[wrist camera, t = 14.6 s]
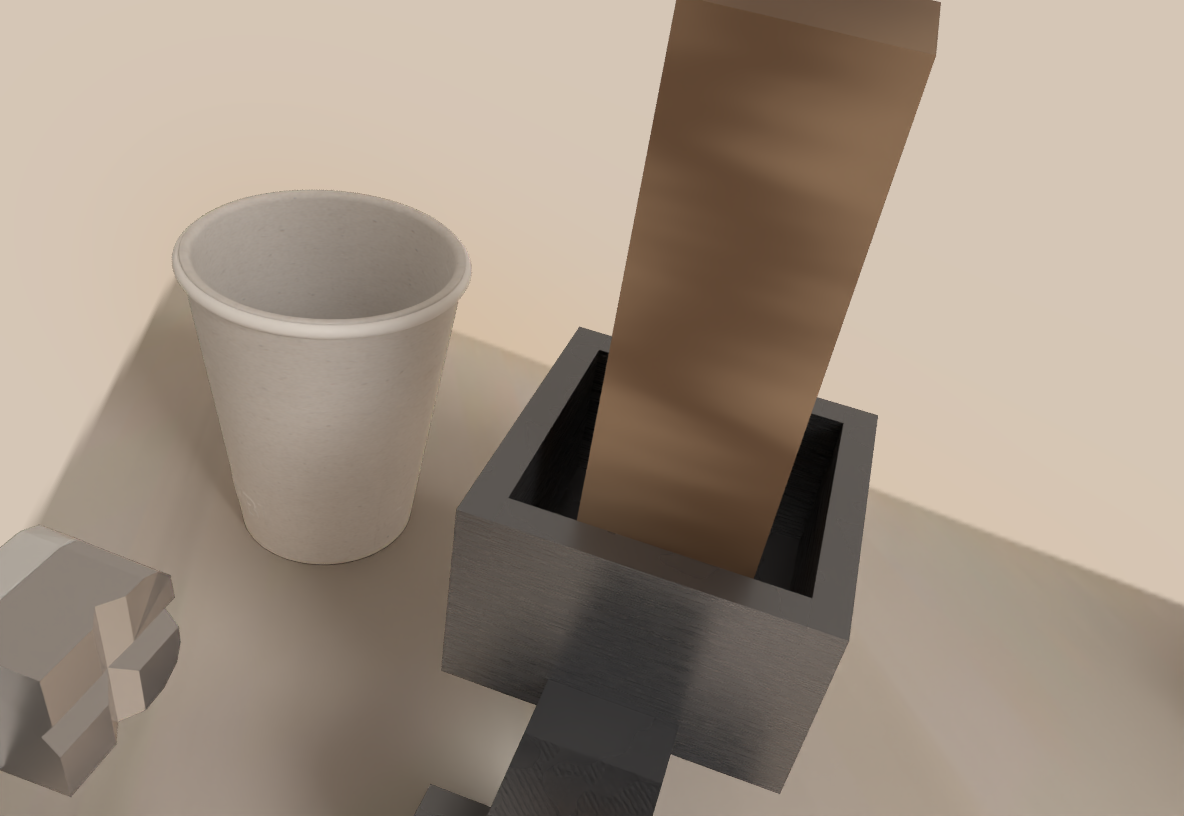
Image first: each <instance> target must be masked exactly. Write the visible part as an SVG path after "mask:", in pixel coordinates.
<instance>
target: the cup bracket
mask: <svg viewBox="0 0 1184 816" xmlns="http://www.w3.org/2000/svg"><path fill="white" fill-rule="evenodd" d="M611 339H612V336H609V335H605V334H602V333H599V332H595V331H592V330H589V329H585V328H582V327H579V328H578V330H577V331H576V333H575V334H574V336H573V337H572V339H571V340H570V342H569V343H568V345H567V346H566V348H565V349H564V350H563V352H562V354H561V355H560V356H559V358H558V359H557V361H556V362H555V364H554V365H553V367H552V368H551V370H550V371H549V373H548V374H547V376H546V377H545V379H544V380H543V382H542V383H541V385H540V386H539V388H538V389H537V391H536V392H535V394H534V395H533V397H532V398H531V399H530V401H529V402H528V404H527V405H526V407H525V408H524V410H523V411H522V413H521V414H520V416H519V417H518V419H517V420H516V422H515V423H514V425H513V426H512V428H511V429H510V431H509V432H508V434H507V435H506V437H505V438H504V440H503V441H502V443H501V444H500V446H499V447H498V449H497V450H496V451H495V453H494V454H493V456H492V457H491V459H490V460H489V462H488V463H487V465H486V466H485V468H484V469H483V471H482V472H481V474H480V475H479V477H478V478H477V480H476V481H475V483H474V484H473V486H472V487H471V489H470V490H469V492H468V493H467V495H466V496H465V498H464V499H463V500H462V502H461V503H460V505H459V506H458V508H457V509H456V520H455V530H454V541H453V552H452V562H451V573H450V584H449V594H448V605H447V615H446V626H445V637H444V647H443V658H442V668H441V671H444V672H447V673H450V674H452V675H455V676H458V677H461V678H463V679H466V680H469V681H471V682H474V683H477V684H480V685H482V686H485V687H488V688H491V689H493V690H496V691H499V692H502V693H504V694H507V695H510V696H513V697H515V698H518V699H521V700H524V701H526V702H529V703H532V704H535V705H537V706H536V708H535V710H534V712H533V715H532V717H531V719H530V721H529V723H528V726H527V728H526V730H525V732H524V735H523V737H522V739H521V741H520V743H519V746H518V748H517V750H516V752H515V755H514V757H513V759H512V761H511V763H510V766H509V768H508V770H507V772H506V775H505V777H504V779H503V781H502V784H501V786H500V788H499V790H498V792H497V795H496V797H495V799H494V801H493V804H492V806H491V807H489V806H486V805H484V804H481V803H479V802H476V801H473V800H471V799H468V798H466V797H463V796H460V795H458V794H455V793H453V792H450V791H448V790H445V789H442V788H440V787H437V786H435V785H432V784H430V786H429V788H428V790H427V792H426V794H425V796H424V798H423V800H422V802H421V803H420V805H419V807H418V809H417V811H416V813H415V815H414V816H653V813H654V809H655V806H656V802H657V799H658V796H659V792H660V789H661V785H662V782H663V778H664V775H665V772H666V768H667V765H668V761H669V758H670V755H671V754H672V755H674V756H677V757H680V758H683V759H685V760H688V761H691V762H694V763H696V764H699V765H702V766H705V767H707V768H710V769H713V770H715V771H718V772H721V773H724V774H726V775H729V776H732V777H735V778H737V779H740V780H743V781H746V782H748V783H751V784H754V785H757V786H759V787H762V788H765V789H768V790H770V791H773V792H776V793H779V794H780V793H781V790H782V788H783V786H784V784H785V781H786V779H787V777H788V775H789V773H790V770H791V768H792V766H793V764H794V762H795V759H796V757H797V755H798V753H799V751H800V748H801V746H802V744H803V742H804V739H805V737H806V735H807V733H808V731H809V728H810V726H811V724H812V722H813V720H814V717H815V715H816V713H817V711H818V708H819V706H820V704H821V702H822V700H823V697H824V695H825V693H826V691H827V689H828V686H829V684H830V682H831V680H832V677H833V675H834V673H835V671H836V669H837V666H838V664H839V662H840V660H841V658H842V655H843V653H844V651H845V649H846V646H847V644H848V642H849V637H850V629H851V621H852V613H853V606H854V598H855V590H856V582H857V574H858V567H859V559H860V551H861V543H862V536H863V528H864V520H865V512H866V504H867V497H868V489H869V480H870V473H871V465H872V458H873V450H874V442H875V434H876V426H877V419H878V415H875V414H871V413H868V412H865V411H861V410H858V409H855V408H851V407H848V406H844V405H841V404H838V403H834V402H831V401H828V400H824V399H821V398H816V401H815V404H814V407H813V410H812V413H811V416H810V418H809V421H808V424H807V427H806V430H805V433H804V436H803V439H802V441H801V444H800V447H799V450H798V453H797V456H796V459H795V462H794V464H793V467H792V470H791V473H790V476H789V479H788V482H787V484H786V487H785V490H784V493H783V496H782V499H781V502H780V505H779V507H778V510H777V513H776V516H775V519H774V522H773V525H772V528H771V530H770V533H769V536H768V539H767V542H766V545H765V548H764V550H763V553H762V556H761V559H760V562H759V565H758V568H757V571H756V573H755V576H754V579H752V578H749V577H746V576H743V575H740V574H737V573H734V572H731V571H728V570H725V569H722V568H719V567H716V566H713V565H710V564H707V563H704V562H701V561H698V560H695V559H692V558H689V557H686V556H683V555H679V554H676V553H673V552H670V551H667V550H664V549H661V548H658V547H655V546H652V545H649V544H646V543H643V542H640V541H637V540H634V539H631V538H628V537H625V536H622V535H619V534H616V533H613V532H610V531H607V530H604V529H601V528H598V527H595V526H592V525H589V524H586V523H583V522H580V521H577V517H578V512H579V507H580V501H581V496H582V491H583V486H584V481H585V475H586V470H587V465H588V460H589V454H590V449H591V444H592V439H593V433H594V428H595V423H596V418H597V413H598V407H599V402H600V397H601V392H602V386H603V381H604V376H605V371H606V365H607V360H608V355H609V350H610V344H611Z"/></svg>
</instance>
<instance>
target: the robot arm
mask: <svg viewBox="0 0 1184 816" xmlns="http://www.w3.org/2000/svg"><path fill="white" fill-rule="evenodd" d="M174 598H175V596H174V591H173V586H172V580H171V575H169V574H166V573H164V572H161V571H158V570H156V569H153V568H151V567H148V566H146V565H143V564H140V563H138V562H135V561H133V560H130V559H127V558H125V557H122V556H120V555H117V554H115V553H112V552H109V551H107V550H104V549H102V548H99V547H97V546H94V545H91V544H89V543H86V542H84V541H82V540H80V539H77V538H74V537H71V536H69V535H66V534H63V533H61V532H58V531H55V530H52V529H50V528H47V527H44V526H42V525H37V526H34V527H31V528H28V529H25V530H22V531H20V532H19V533H17V534H16V535H15V536H14V537H12V538H11V539H10V540H9V541H8V542H6V543H5V544H4V545H3V546H1V547H0V770H1V771H4V772H6V773H9V774H12V775H14V776H17V777H20V778H22V779H25V780H27V781H30V782H33V783H35V784H38V785H41V786H43V787H46V788H49V789H51V790H54V791H56V792H59V793H62V794H64V795H67V796H70V797H71V796H72V795H73V794H74V793H75V791H76V790H77V789H78V788H79V787H80V786H81V784H82V783H83V782H84V781H85V780H86V779H87V778H88V776H89V775H90V774H91V773H92V772H93V771H94V770H95V768H96V767H97V766H98V765H99V764H100V763H101V761H102V760H103V759H104V758H105V757H106V756H107V755H108V753H109V752H110V751H111V750H112V749H113V748H114V746H115V745H116V743H117V729H118V722H119V721H122V720H124V719H126V718H129V717H131V716H133V715H136V714H138V713H140V712H143V711H145V710H146V709H147V708H148V707H149V706H150V704H151V703H152V702H153V701H154V699H155V698H156V697H157V696H158V695H159V693H160V692H161V691H162V690H163V689H164V687H165V685H166V683H167V681H168V679H169V677H170V675H171V673H172V671H173V669H174V667H175V665H176V663H177V659H178V653H179V648H180V643H181V642H180V634H179V626H178V625H177V624H176V622H175V621H174V620H173V618H172V617H171V616H170V614H169V613H168V611H167V610H166V609H165V607H166V606H167V605H168V604H169V603H170V602H171V601H172V600H173V599H174Z"/></svg>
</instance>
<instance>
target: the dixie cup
mask: <svg viewBox="0 0 1184 816" xmlns="http://www.w3.org/2000/svg"><path fill="white" fill-rule="evenodd" d="M172 267H173V271H174V274H175V277H176V279H177V281H178V283H179V284H180V286H181V287H182V288H183V290H184V291H185V292H186V293H187V296H188V300H189V304H190V308H191V312H192V316H193V320H194V324H195V327H196V331H197V335H198V339H199V343H200V347H201V351H202V355H203V359H204V363H205V367H206V371H207V375H208V379H209V383H210V387H211V391H212V395H213V399H214V403H215V407H216V411H217V415H218V419H219V423H220V427H221V431H222V435H223V439H224V443H225V447H226V451H227V455H228V459H229V463H230V467H231V471H232V478H233V482H234V486H235V490H236V494H237V497H238V500H239V503H240V507H241V511H242V515H243V519H244V522H245V525H246V528H247V529H248V531H249V533H250V534H251V536H252V537H253V538H254V539H255V540H256V541H257V542H258V543H259V544H260V545H261V546H263V547H264V548H265V549H267V550H269V551H270V552H272V553H274V554H276V555H278V556H281V557H283V558H286V559H289V560H293V561H297V562H302V563H309V564H338V563H345V562H350V561H355V560H358V559H362V558H364V557H367V556H370V555H372V554H374V553H376V552H378V551H380V550H382V549H383V548H385V547H387V546H388V545H389V544H391V543H392V542H393V541H394V540H395V539H396V538H397V537H398V536H399V535H400V534H401V533H402V531H403V530H404V529H405V527H406V525H407V523H408V521H409V518H410V514H411V509H412V505H413V500H414V496H415V491H416V487H417V483H418V478H419V474H420V469H421V465H422V460H423V456H424V451H425V447H426V443H427V438H428V434H429V429H430V425H431V420H432V416H433V411H434V407H435V403H436V398H437V394H438V389H439V385H440V380H441V376H442V371H443V367H444V363H445V358H446V354H447V349H448V345H449V340H450V336H451V332H452V327H453V323H454V318H455V314H456V309H457V304H458V300H459V299H460V298H461V296H462V295H463V294H464V292H465V291H466V289H467V287H468V285H469V282H470V279H471V273H472V272H471V271H472V266H471V260H470V257H469V254H468V252H467V250H466V248H465V246H464V245H463V244H462V242H461V241H460V240H459V238H458V237H457V236H456V235H455V234H454V233H452V232H451V231H450V230H449V229H448V228H447V227H445V226H444V225H443V224H442V223H440V222H439V221H437V220H436V219H434V218H432V217H431V216H429V215H427V214H425V213H423V212H421V211H419V210H417V209H414V208H412V207H409V206H407V205H404V204H401V203H398V202H394V201H391V200H388V199H384V198H380V197H376V196H371V195H365V194H360V193H352V192H344V191H333V190H292V191H280V192H272V193H266V194H260V195H255V196H251V197H247V198H243V199H239V200H236V201H233V202H230V203H227V204H225V205H222V206H220V207H218V208H215V209H214V210H212V211H210V212H208V213H206V214H205V215H203V216H202V217H200V218H199V219H198V220H196V221H195V222H194V223H192V224H191V225H190V226H189V227H188V228H186V230H185V231H184V232H183V233H182V234H181V236H180V237H179V239H178V240H177V242H176V244H175V247H174V249H173V254H172Z"/></svg>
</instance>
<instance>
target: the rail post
mask: <svg viewBox="0 0 1184 816" xmlns="http://www.w3.org/2000/svg"><path fill="white" fill-rule="evenodd" d="M940 6H941V2H937V1H933V0H676V4H675V10H674V15H673V20H672V25H671V31H670V36H669V41H668V46H667V52H666V57H665V62H664V67H663V72H662V78H661V83H660V88H659V93H658V99H657V104H656V109H655V114H654V120H653V125H652V130H651V135H650V141H649V146H648V151H647V156H646V161H645V167H644V172H643V178H642V183H641V188H640V193H639V198H638V204H637V209H636V214H635V219H634V225H633V229H632V235H631V240H630V245H629V251H628V256H627V261H626V266H625V271H624V277H623V282H622V287H621V292H620V297H619V303H618V308H617V313H616V318H615V324H614V329H613V334H612V339H611V344H610V350H609V355H608V360H607V365H606V371H605V376H604V381H603V386H602V392H601V397H600V402H599V407H598V413H597V418H596V423H595V428H594V433H593V439H592V444H591V449H590V454H589V460H588V465H587V470H586V475H585V481H584V486H583V491H582V496H581V501H580V507H579V512H578V517H577V521H580V522H583V523H586V524H589V525H592V526H595V527H598V528H601V529H604V530H607V531H610V532H613V533H616V534H619V535H622V536H625V537H628V538H631V539H634V540H637V541H640V542H643V543H646V544H649V545H652V546H655V547H658V548H661V549H664V550H667V551H670V552H673V553H676V554H679V555H683V556H686V557H689V558H692V559H695V560H698V561H701V562H704V563H707V564H710V565H713V566H716V567H719V568H722V569H725V570H728V571H731V572H734V573H737V574H740V575H743V576H746V577H749V578H752V579H754V576H755V573H756V571H757V568H758V565H759V562H760V559H761V556H762V553H763V550H764V548H765V545H766V542H767V539H768V536H769V533H770V530H771V528H772V525H773V522H774V519H775V516H776V513H777V510H778V507H779V505H780V502H781V499H782V496H783V493H784V490H785V487H786V484H787V482H788V479H789V476H790V473H791V470H792V467H793V464H794V462H795V459H796V456H797V453H798V450H799V447H800V444H801V441H802V439H803V436H804V433H805V430H806V427H807V424H808V421H809V418H810V416H811V413H812V410H813V407H814V404H815V401H816V398H817V395H818V392H819V390H820V387H821V384H822V381H823V378H824V375H825V372H826V370H827V367H828V364H829V361H830V358H831V355H832V352H833V350H834V347H835V344H836V341H837V338H838V335H839V332H840V329H841V327H842V324H843V321H844V318H845V315H846V312H847V309H848V307H849V304H850V301H851V298H852V295H853V292H854V289H855V286H856V284H857V281H858V278H859V275H860V272H861V269H862V266H863V263H864V260H865V258H866V255H867V252H868V249H869V246H870V243H871V241H872V238H873V235H874V232H875V228H876V226H877V223H878V220H879V217H880V215H881V212H882V209H883V206H884V203H885V200H886V197H887V194H888V192H889V189H890V186H891V183H892V180H893V177H894V174H895V171H896V169H897V166H898V163H899V160H900V157H901V154H902V152H903V149H904V146H905V143H906V140H907V137H908V134H909V131H910V128H911V126H912V123H913V120H914V117H915V114H916V111H917V109H918V106H919V102H920V100H921V97H922V94H923V91H924V88H925V85H926V83H927V80H928V77H929V74H930V71H931V68H932V65H933V63H934V60H935V57H936V49H937V39H938V27H939V16H940Z"/></svg>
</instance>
